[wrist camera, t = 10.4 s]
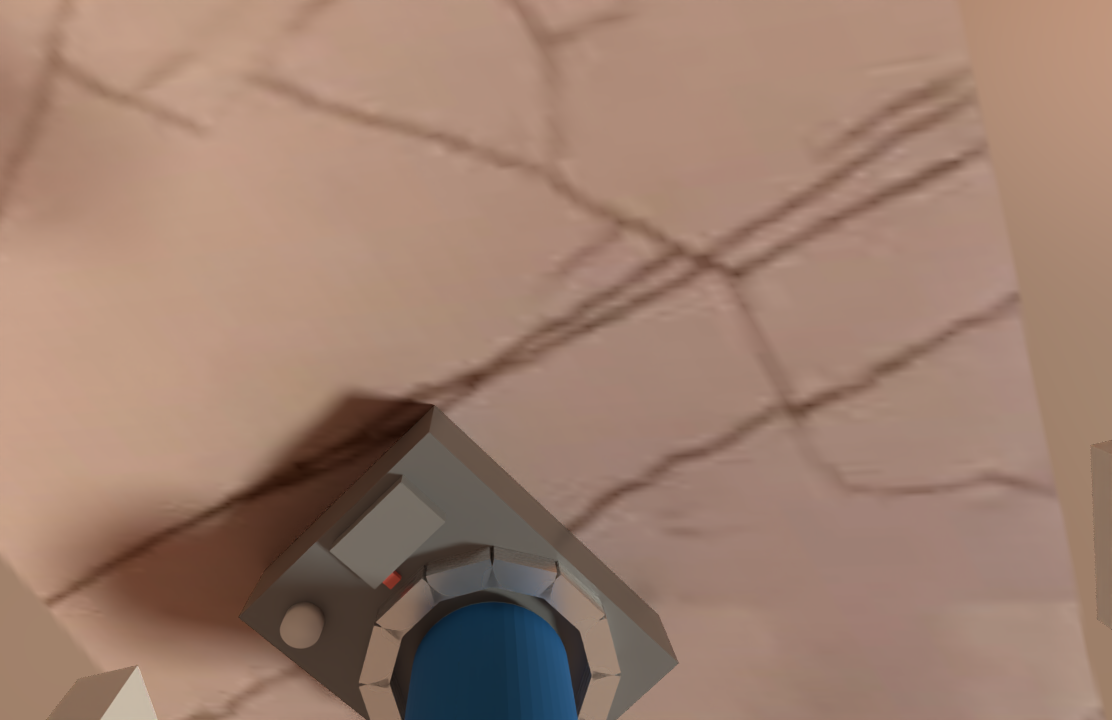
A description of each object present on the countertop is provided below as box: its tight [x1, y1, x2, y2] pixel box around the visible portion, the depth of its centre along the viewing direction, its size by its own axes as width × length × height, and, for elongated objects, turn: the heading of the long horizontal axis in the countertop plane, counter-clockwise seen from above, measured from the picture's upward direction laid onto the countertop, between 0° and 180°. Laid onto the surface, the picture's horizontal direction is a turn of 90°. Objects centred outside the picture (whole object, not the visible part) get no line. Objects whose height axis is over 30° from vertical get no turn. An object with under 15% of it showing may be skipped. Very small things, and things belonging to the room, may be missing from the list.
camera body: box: [239, 405, 678, 720], centre depth 35 cm, size 15×11×5 cm
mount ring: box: [359, 546, 621, 720], centre depth 34 cm, size 10×10×1 cm
